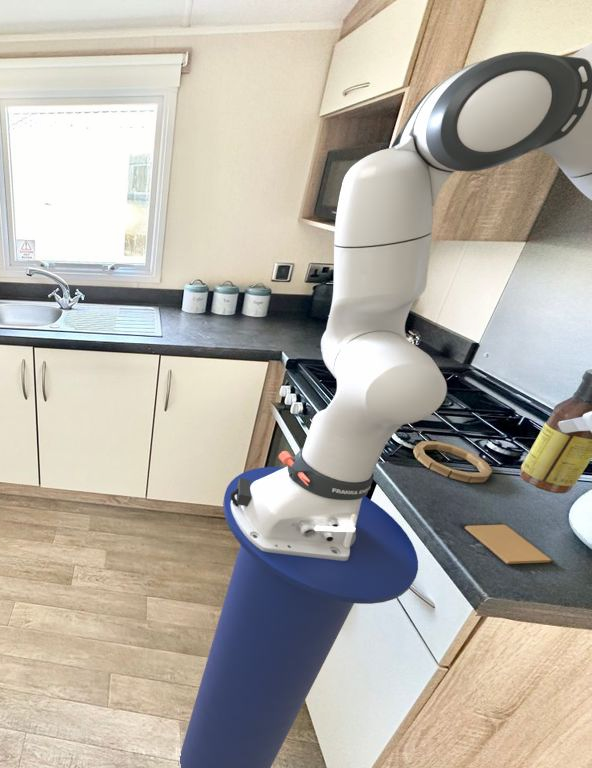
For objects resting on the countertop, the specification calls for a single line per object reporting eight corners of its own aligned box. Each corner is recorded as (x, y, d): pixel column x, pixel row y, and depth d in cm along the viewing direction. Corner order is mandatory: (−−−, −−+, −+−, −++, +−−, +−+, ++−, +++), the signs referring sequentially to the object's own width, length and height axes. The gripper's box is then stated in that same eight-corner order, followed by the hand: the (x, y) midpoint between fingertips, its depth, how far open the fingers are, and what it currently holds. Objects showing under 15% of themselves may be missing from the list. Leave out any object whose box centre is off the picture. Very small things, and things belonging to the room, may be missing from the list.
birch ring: (447, 483, 88) (451, 477, 87) (399, 446, 100) (402, 441, 99) (504, 481, 89) (508, 475, 88) (450, 445, 101) (453, 440, 100)
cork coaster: (507, 564, 69) (509, 561, 69) (464, 528, 76) (465, 525, 76) (550, 562, 70) (551, 559, 70) (503, 526, 77) (505, 524, 77)
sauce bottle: (572, 486, 68) (650, 378, 59) (564, 501, 64) (646, 388, 55) (518, 465, 72) (583, 362, 63) (508, 478, 69) (575, 371, 60)
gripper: (736, 361, 56) (592, 393, 68) (678, 384, 49) (529, 414, 61) (768, 404, 54) (615, 429, 67) (713, 435, 47) (552, 456, 59)
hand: (573, 422), depth 64 cm, fingers closed on sauce bottle, 6 cm apart
